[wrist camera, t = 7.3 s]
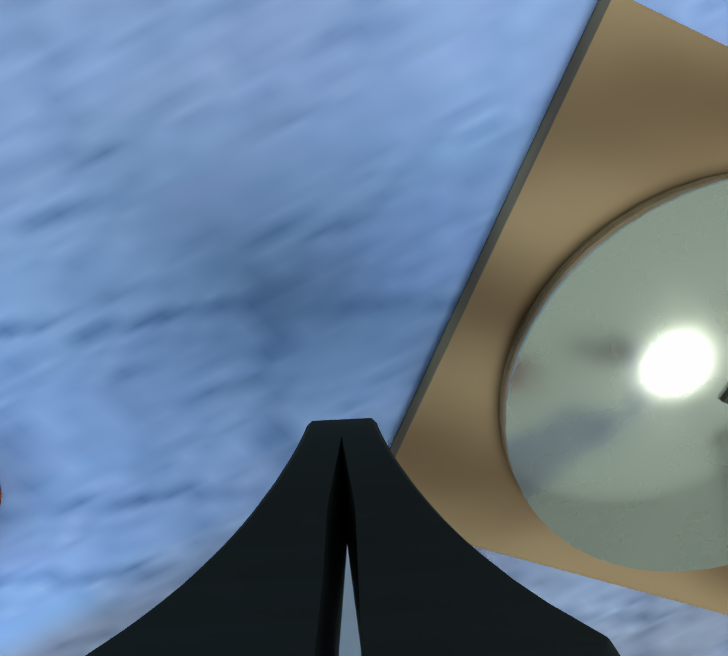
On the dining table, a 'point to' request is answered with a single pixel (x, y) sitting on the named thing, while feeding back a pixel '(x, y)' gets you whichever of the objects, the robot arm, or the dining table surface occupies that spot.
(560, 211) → the dial base
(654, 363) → the capstan dial
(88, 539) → the dining table surface
